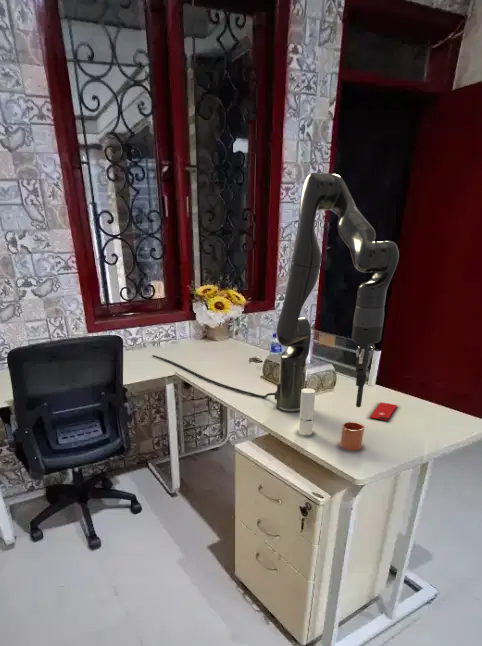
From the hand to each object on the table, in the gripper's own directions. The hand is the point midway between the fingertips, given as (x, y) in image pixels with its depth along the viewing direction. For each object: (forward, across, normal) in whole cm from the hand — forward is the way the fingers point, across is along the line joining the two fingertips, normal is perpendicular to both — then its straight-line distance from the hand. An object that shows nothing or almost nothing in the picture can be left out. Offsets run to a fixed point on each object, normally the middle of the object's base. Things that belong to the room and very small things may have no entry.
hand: (360, 384), depth 119 cm
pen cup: (+20, +1, 0) cm, 20 cm away
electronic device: (+20, -30, +6) cm, 36 cm away
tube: (+20, -3, -16) cm, 25 cm away
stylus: (+7, 0, 0) cm, 7 cm away
